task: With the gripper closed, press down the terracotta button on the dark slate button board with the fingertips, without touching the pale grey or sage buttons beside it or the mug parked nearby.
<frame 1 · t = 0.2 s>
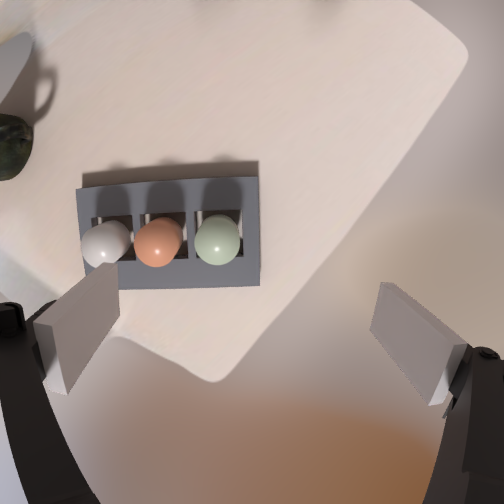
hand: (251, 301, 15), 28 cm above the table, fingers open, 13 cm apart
mug: (17, 145, 37), on the table
grey button: (106, 243, 37), point 5 cm above the table, slide at 0.0 cm
button board: (166, 233, 42), on the table
terracotta button: (159, 240, 37), point 5 cm above the table, slide at 0.0 cm
sage button: (218, 238, 38), point 5 cm above the table, slide at 0.0 cm
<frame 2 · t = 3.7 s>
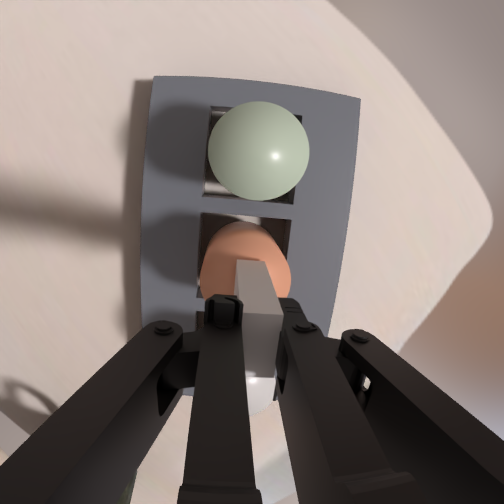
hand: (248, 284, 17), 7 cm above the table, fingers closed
grey button: (235, 368, 21), point 5 cm above the table, slide at 0.0 cm
button board: (241, 252, 24), on the table
terracotta button: (243, 268, 20), point 4 cm above the table, slide at 0.7 cm, touching gripper
sage button: (255, 152, 18), point 4 cm above the table, slide at 0.0 cm
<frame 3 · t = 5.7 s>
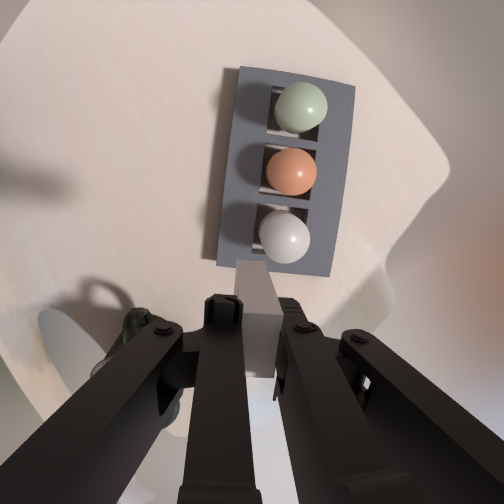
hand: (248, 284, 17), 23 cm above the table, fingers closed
mug: (154, 336, 43), on the table
grey button: (282, 235, 35), point 4 cm above the table, slide at 0.0 cm
button board: (285, 171, 38), on the table
terracotta button: (289, 171, 35), point 3 cm above the table, slide at 1.4 cm
sage button: (299, 109, 32), point 5 cm above the table, slide at 0.0 cm
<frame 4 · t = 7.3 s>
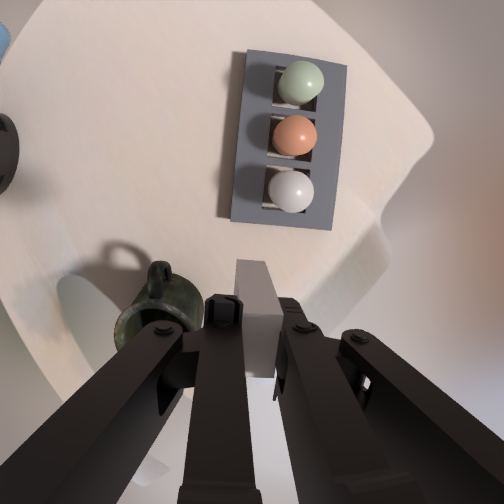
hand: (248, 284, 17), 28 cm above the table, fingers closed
mug: (171, 294, 48), on the table
grey button: (289, 190, 40), point 5 cm above the table, slide at 0.0 cm
button board: (288, 138, 43), on the table
terracotta button: (293, 136, 40), point 3 cm above the table, slide at 1.4 cm
sage button: (299, 83, 37), point 5 cm above the table, slide at 0.0 cm
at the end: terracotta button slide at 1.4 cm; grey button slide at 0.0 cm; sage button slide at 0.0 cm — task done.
